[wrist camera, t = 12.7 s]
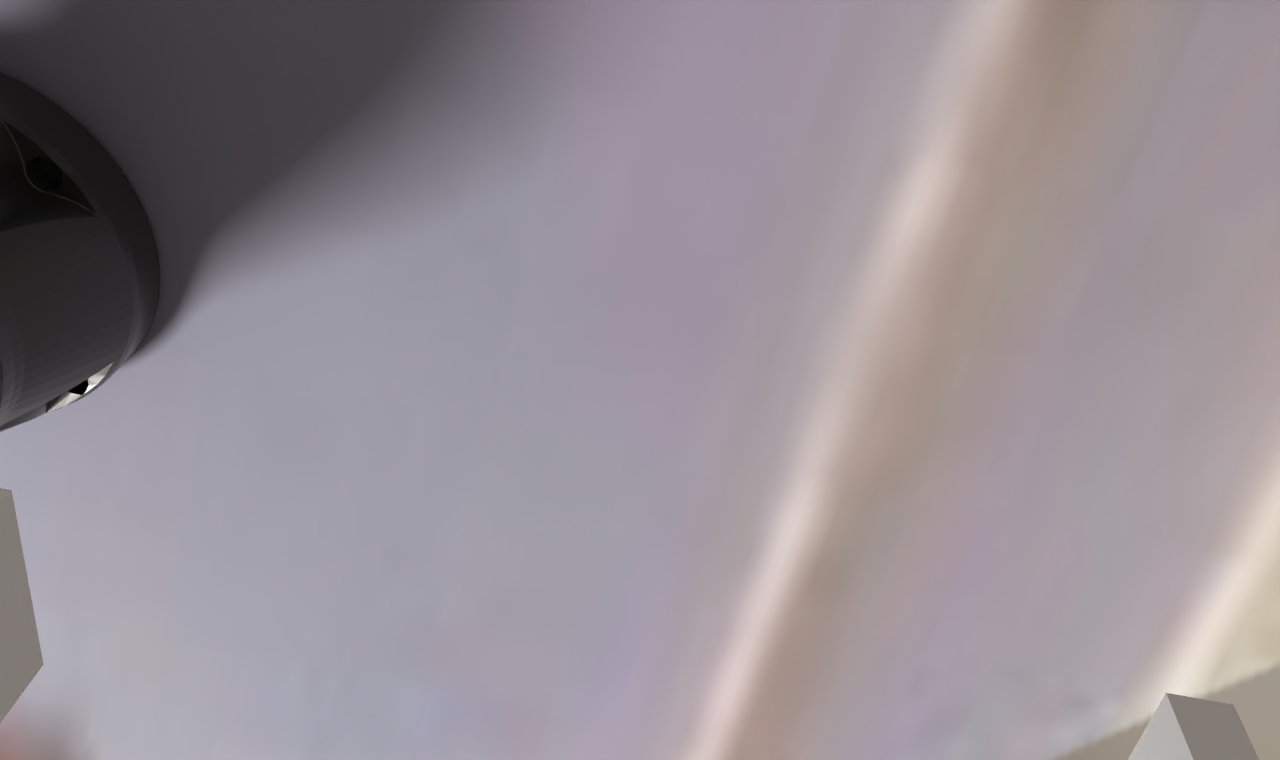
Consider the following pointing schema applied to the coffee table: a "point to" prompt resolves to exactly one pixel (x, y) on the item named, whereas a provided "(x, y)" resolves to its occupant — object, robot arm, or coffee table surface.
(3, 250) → the robot arm
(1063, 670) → the coffee table surface
